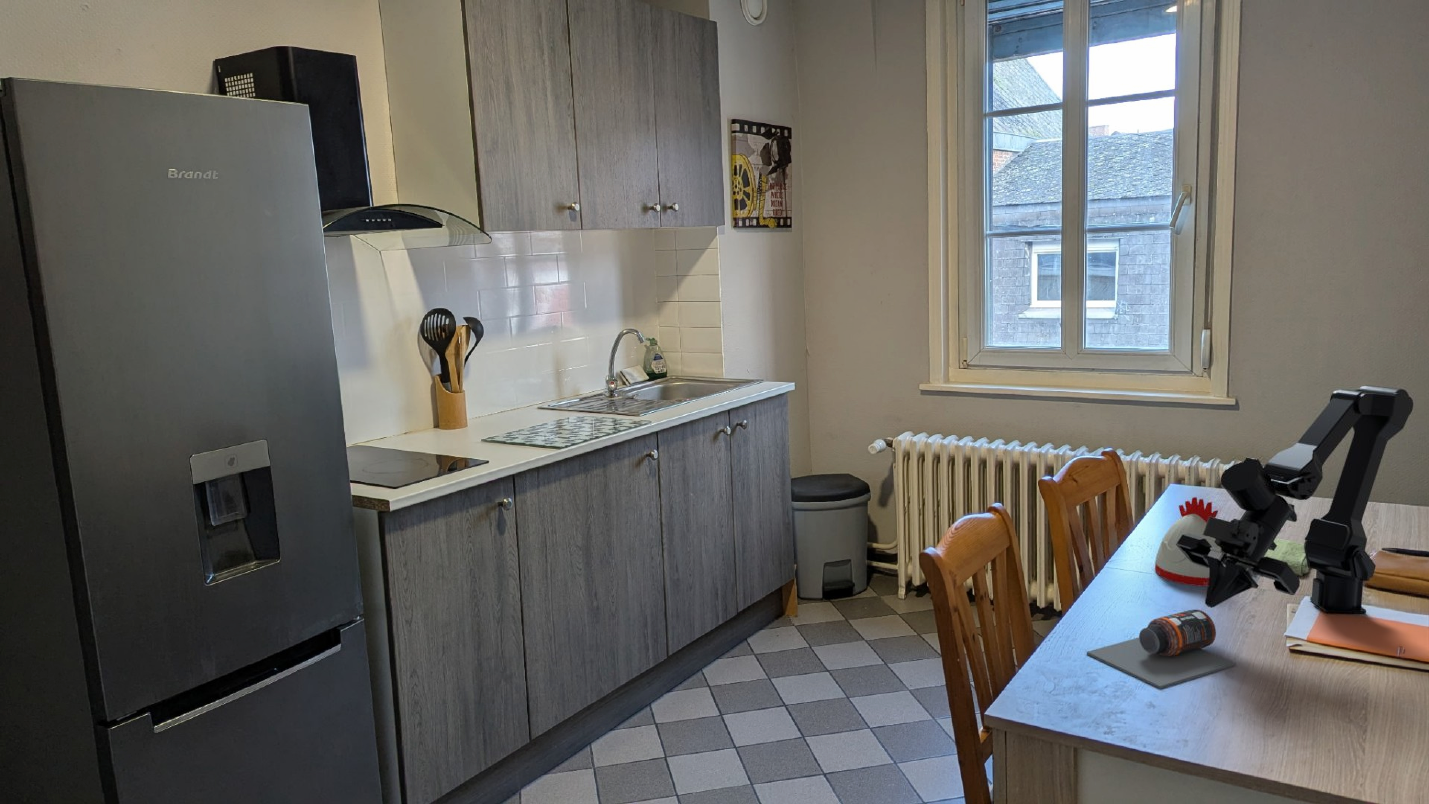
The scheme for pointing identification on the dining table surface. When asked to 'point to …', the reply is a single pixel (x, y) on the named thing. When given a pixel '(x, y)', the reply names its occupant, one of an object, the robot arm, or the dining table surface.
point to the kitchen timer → (1172, 558)
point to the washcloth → (1290, 555)
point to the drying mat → (1159, 663)
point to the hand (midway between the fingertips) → (1208, 605)
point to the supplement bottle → (1178, 633)
